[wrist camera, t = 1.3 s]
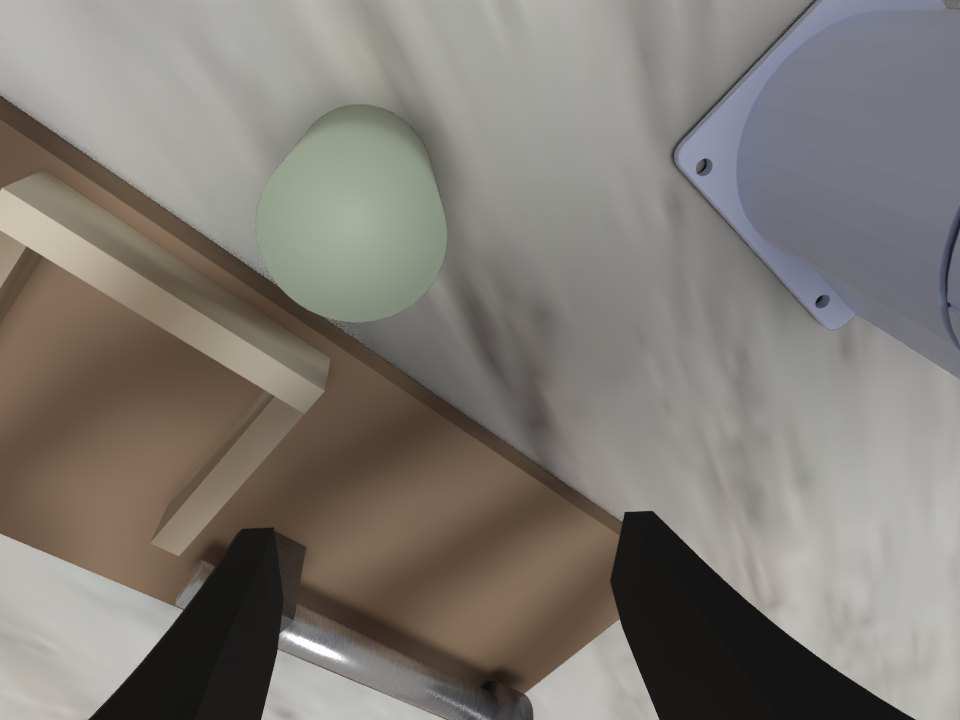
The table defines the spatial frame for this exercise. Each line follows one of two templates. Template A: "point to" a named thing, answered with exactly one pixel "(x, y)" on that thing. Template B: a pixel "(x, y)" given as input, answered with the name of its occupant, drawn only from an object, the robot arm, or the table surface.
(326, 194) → the cylinder
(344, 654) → the steel shaft
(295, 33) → the table surface
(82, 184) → the walnut base with seat
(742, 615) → the robot arm
